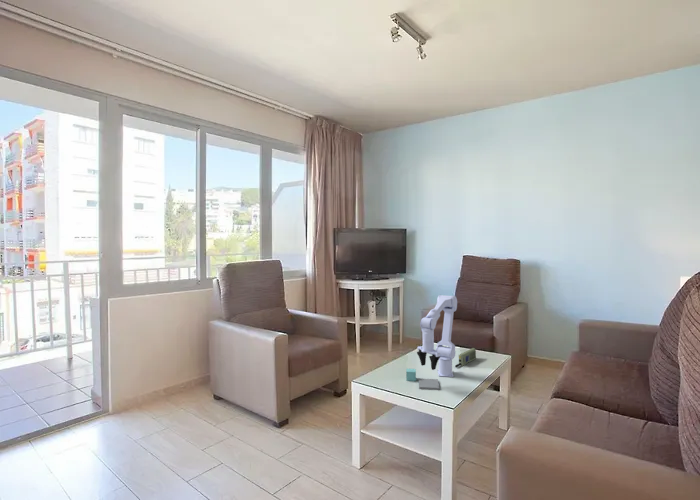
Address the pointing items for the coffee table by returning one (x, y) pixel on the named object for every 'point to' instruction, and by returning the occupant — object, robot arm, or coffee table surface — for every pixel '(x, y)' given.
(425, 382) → the slate mat
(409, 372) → the teal block
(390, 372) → the coffee table surface
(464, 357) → the handheld radio
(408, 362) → the coffee table surface
